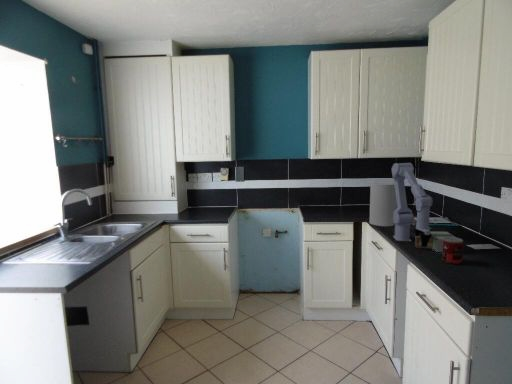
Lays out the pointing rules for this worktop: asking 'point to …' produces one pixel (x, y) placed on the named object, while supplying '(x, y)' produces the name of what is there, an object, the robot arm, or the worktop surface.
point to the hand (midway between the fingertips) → (421, 244)
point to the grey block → (439, 240)
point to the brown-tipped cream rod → (418, 242)
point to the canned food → (452, 250)
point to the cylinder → (382, 204)
